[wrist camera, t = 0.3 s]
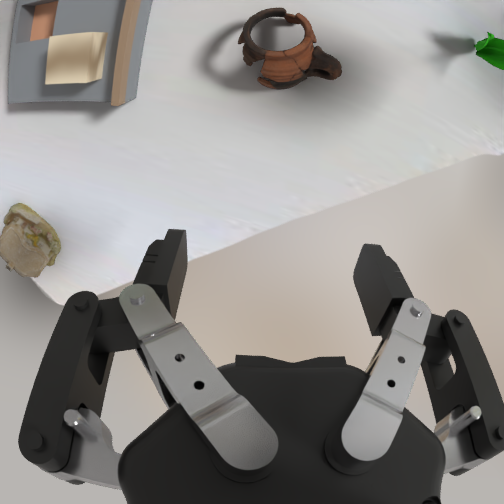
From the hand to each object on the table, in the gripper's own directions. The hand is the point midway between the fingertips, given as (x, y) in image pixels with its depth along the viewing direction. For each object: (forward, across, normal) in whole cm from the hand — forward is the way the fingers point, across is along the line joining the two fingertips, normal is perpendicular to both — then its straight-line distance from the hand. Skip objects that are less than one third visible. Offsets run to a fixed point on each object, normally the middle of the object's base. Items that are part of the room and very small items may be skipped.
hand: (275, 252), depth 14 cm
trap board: (+28, +24, -20) cm, 42 cm away
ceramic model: (+29, +40, +21) cm, 54 cm away
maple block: (+24, +22, -9) cm, 34 cm away
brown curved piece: (+29, -2, -9) cm, 30 cm away
